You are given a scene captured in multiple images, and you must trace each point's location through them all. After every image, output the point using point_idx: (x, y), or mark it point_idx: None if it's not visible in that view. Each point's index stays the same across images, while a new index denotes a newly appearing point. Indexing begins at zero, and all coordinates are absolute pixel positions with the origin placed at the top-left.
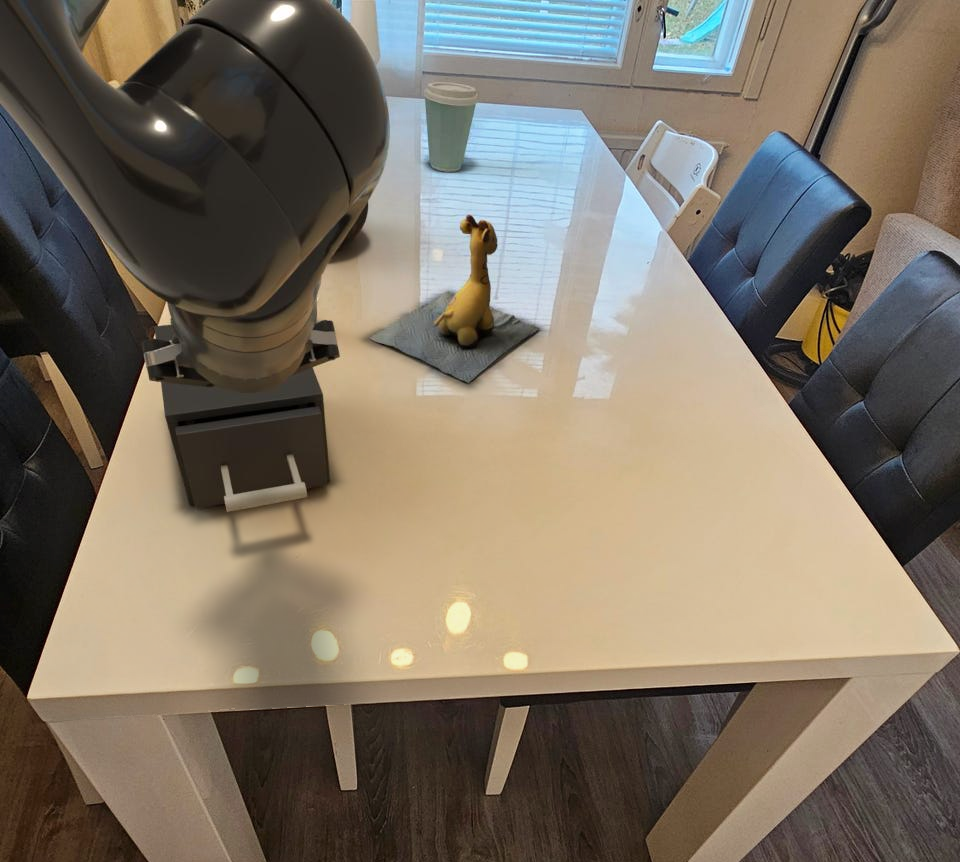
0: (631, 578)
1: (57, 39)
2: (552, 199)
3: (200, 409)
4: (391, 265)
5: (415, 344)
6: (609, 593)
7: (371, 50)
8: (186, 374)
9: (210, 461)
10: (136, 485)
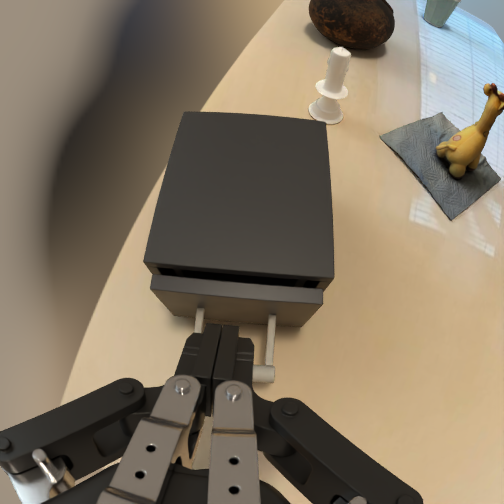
0: (479, 477)
1: None
2: (494, 70)
3: (182, 263)
4: (401, 73)
5: (416, 157)
6: (460, 490)
7: None
8: (80, 472)
9: (186, 304)
10: (139, 257)
